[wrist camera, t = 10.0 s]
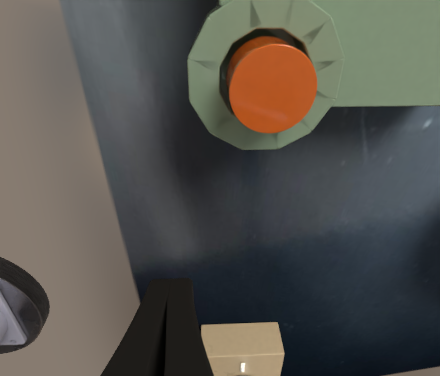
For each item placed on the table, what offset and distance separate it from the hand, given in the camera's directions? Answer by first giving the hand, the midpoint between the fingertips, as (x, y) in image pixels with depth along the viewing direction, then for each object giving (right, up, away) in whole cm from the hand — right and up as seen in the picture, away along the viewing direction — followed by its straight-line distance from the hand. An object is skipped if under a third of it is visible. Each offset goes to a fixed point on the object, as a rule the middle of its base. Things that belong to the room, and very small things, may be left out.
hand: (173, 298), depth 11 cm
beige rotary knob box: (+3, -13, +20) cm, 24 cm away
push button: (+3, +8, +1) cm, 9 cm away
